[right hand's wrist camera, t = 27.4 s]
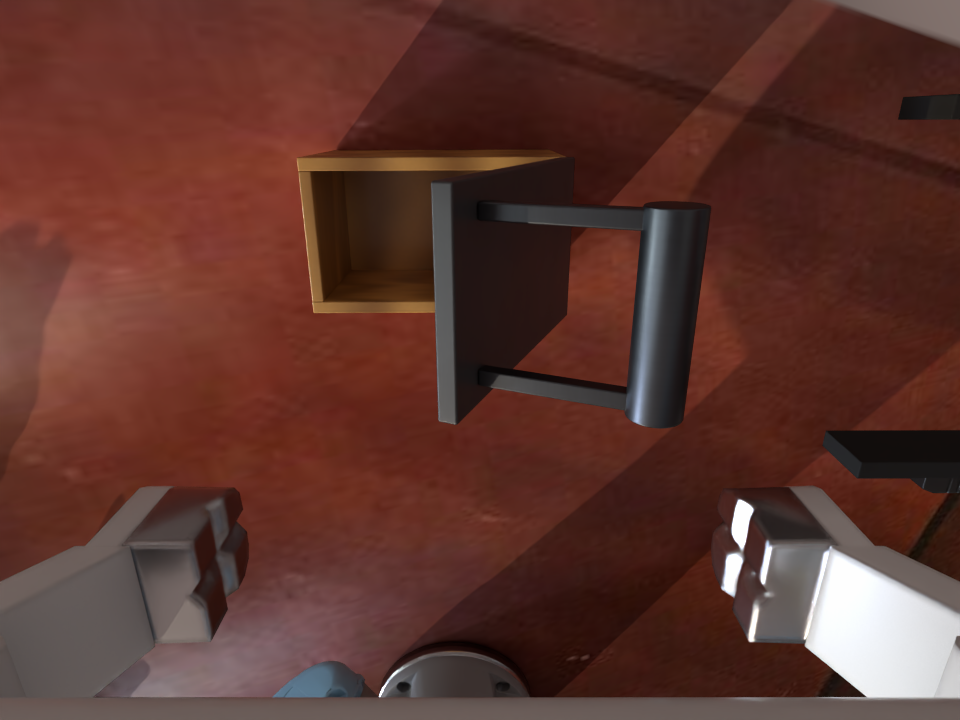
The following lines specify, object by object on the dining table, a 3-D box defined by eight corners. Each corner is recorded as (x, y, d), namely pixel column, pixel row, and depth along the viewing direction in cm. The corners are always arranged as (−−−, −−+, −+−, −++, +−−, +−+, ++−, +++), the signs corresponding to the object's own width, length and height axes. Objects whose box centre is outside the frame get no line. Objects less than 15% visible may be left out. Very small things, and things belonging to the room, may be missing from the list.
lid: (437, 422, 24) (672, 469, 20) (429, 181, 20) (708, 190, 17) (553, 313, 37) (707, 331, 34) (560, 156, 34) (731, 160, 30)
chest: (344, 276, 46) (313, 313, 37) (333, 150, 43) (296, 157, 34) (544, 276, 46) (559, 312, 37) (548, 149, 43) (566, 156, 34)
